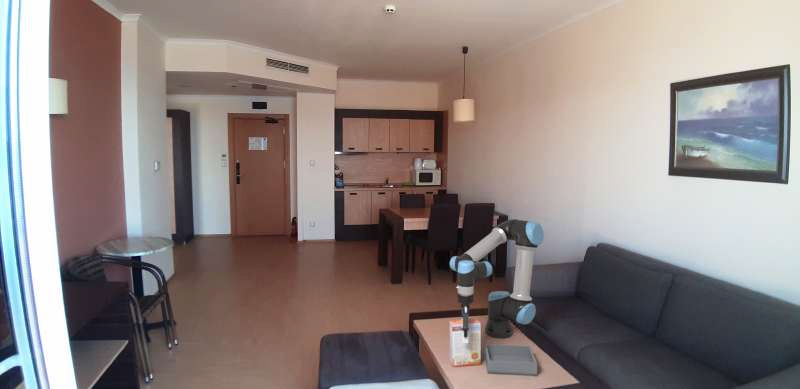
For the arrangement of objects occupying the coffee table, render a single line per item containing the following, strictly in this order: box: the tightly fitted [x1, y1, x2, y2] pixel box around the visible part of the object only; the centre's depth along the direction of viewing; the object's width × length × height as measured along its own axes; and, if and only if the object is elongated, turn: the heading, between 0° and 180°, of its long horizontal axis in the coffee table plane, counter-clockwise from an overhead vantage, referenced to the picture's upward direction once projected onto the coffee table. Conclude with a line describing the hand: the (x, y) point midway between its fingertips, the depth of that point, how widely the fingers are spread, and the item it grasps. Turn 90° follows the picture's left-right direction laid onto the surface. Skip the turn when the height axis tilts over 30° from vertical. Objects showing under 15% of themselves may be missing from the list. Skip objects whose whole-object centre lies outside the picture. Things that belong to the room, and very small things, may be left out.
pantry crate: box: [484, 343, 538, 377], centre depth 210 cm, size 18×22×6 cm
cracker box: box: [449, 318, 482, 368], centre depth 211 cm, size 14×6×21 cm, turn 98°
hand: (464, 337), depth 211 cm, fingers open, 13 cm apart
